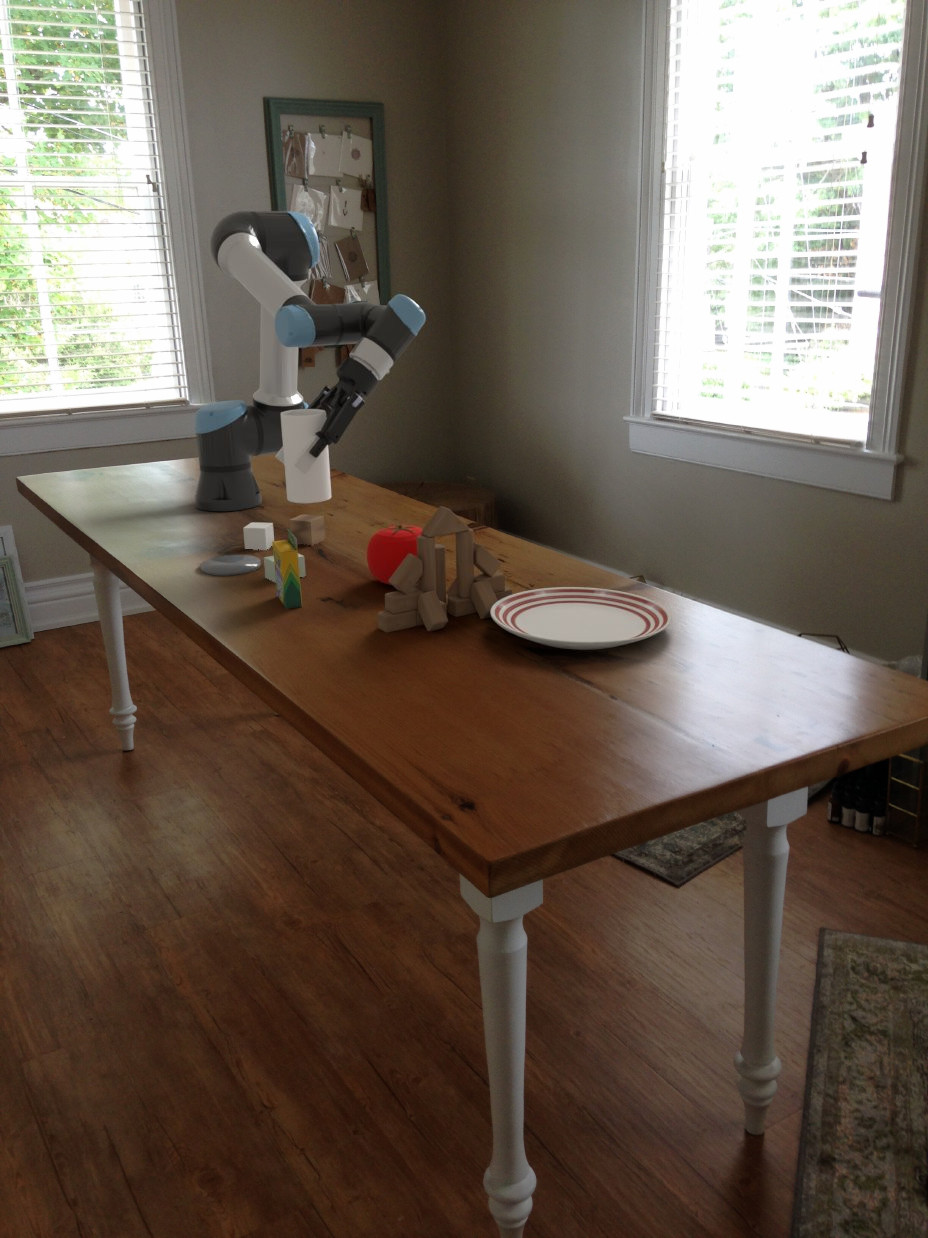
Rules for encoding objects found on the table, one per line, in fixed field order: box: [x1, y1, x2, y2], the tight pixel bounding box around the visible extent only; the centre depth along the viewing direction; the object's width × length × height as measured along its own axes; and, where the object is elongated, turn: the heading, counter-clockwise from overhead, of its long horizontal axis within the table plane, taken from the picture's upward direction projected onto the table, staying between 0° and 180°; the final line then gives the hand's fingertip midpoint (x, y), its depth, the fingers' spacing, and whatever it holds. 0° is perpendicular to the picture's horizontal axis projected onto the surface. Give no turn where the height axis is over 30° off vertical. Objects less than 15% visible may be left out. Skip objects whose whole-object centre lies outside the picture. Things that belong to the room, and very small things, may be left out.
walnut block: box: [288, 513, 326, 547], centre depth 210 cm, size 5×5×5 cm
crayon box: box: [272, 528, 303, 610], centre depth 172 cm, size 7×3×12 cm, turn 21°
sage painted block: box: [263, 553, 307, 584], centre depth 187 cm, size 4×6×4 cm, turn 127°
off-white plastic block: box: [242, 521, 275, 551], centre depth 207 cm, size 4×4×4 cm
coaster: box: [199, 554, 262, 577], centre depth 194 cm, size 11×11×1 cm
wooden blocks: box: [377, 505, 513, 634], centre depth 164 cm, size 25×12×18 cm, turn 123°
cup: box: [281, 409, 332, 504], centre depth 193 cm, size 8×8×16 cm
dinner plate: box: [490, 586, 673, 651], centre depth 159 cm, size 27×27×3 cm
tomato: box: [366, 524, 424, 586], centre depth 182 cm, size 12×12×10 cm
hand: (289, 464), depth 191 cm, fingers closed on cup, 8 cm apart
